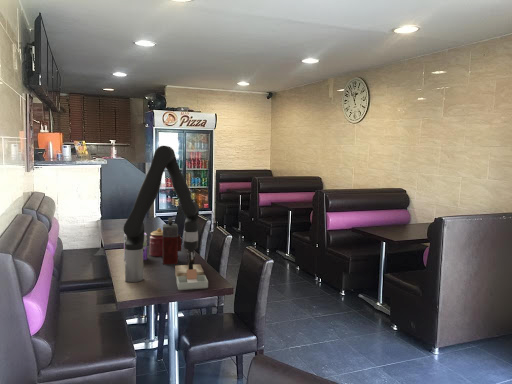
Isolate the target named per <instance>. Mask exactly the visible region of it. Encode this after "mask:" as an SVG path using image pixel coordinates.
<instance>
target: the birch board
mask: <svg viewBox="0 0 512 384" xmlns="http://www.w3.org/2000/svg"><path fill="white" fill-rule="evenodd" d="M174 267H175V268H174V269H175V272H174V273H175V279H176V280H177V277H179V276H187V272H186V271H187V270H188V268H189V264H183V265H182V264H181V265H175V266H174ZM193 269H196V271H197V275H205V273H204V272H205V271H204V269H203V268H202V265H201V264H199V263H198V264H193Z"/></svg>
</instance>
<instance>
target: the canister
mask: <svg viewBox="0 0 512 384" xmlns="http://www.w3.org/2000/svg"><path fill="white" fill-rule="evenodd" d="M148 251H149V256H152V257H163V229H162V228H161V227H158V228H157V230H153V231H152V232H150V235H149V250H148Z"/></svg>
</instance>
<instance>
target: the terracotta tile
mask: <svg viewBox="0 0 512 384" xmlns="http://www.w3.org/2000/svg"><path fill="white" fill-rule="evenodd" d="M186 272H187V279H197V271H196V269H191V270H187V271H186Z"/></svg>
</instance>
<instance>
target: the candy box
mask: <svg viewBox="0 0 512 384" xmlns="http://www.w3.org/2000/svg"><path fill="white" fill-rule="evenodd" d="M126 240H127V236H126V235H125V233H124V234H123V259H124V262H125V243H126ZM146 260H148V234H147V232H144V243H143V261H146Z"/></svg>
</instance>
